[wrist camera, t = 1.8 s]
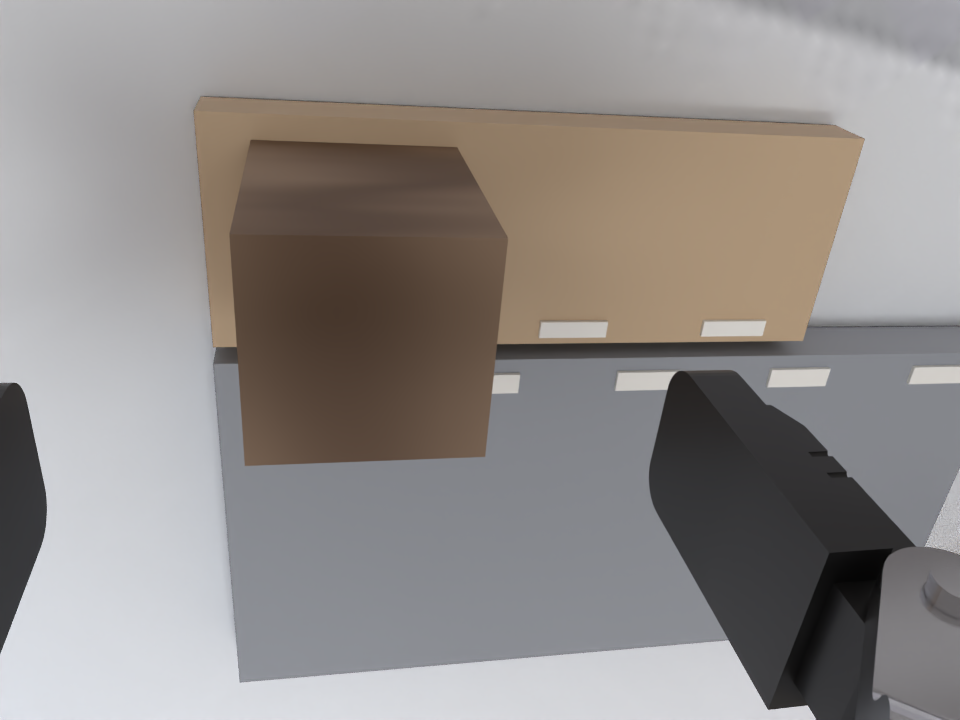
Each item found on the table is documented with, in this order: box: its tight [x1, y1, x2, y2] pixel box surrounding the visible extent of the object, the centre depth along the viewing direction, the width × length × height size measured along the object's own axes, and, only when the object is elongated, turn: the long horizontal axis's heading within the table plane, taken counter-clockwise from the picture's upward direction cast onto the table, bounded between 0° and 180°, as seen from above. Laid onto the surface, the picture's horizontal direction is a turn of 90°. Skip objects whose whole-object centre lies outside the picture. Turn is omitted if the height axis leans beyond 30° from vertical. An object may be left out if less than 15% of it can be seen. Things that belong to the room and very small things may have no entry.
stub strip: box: [194, 97, 865, 466], centre depth 16 cm, size 14×5×6 cm, turn 85°
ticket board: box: [213, 326, 960, 682], centre depth 23 cm, size 20×10×2 cm, turn 85°
